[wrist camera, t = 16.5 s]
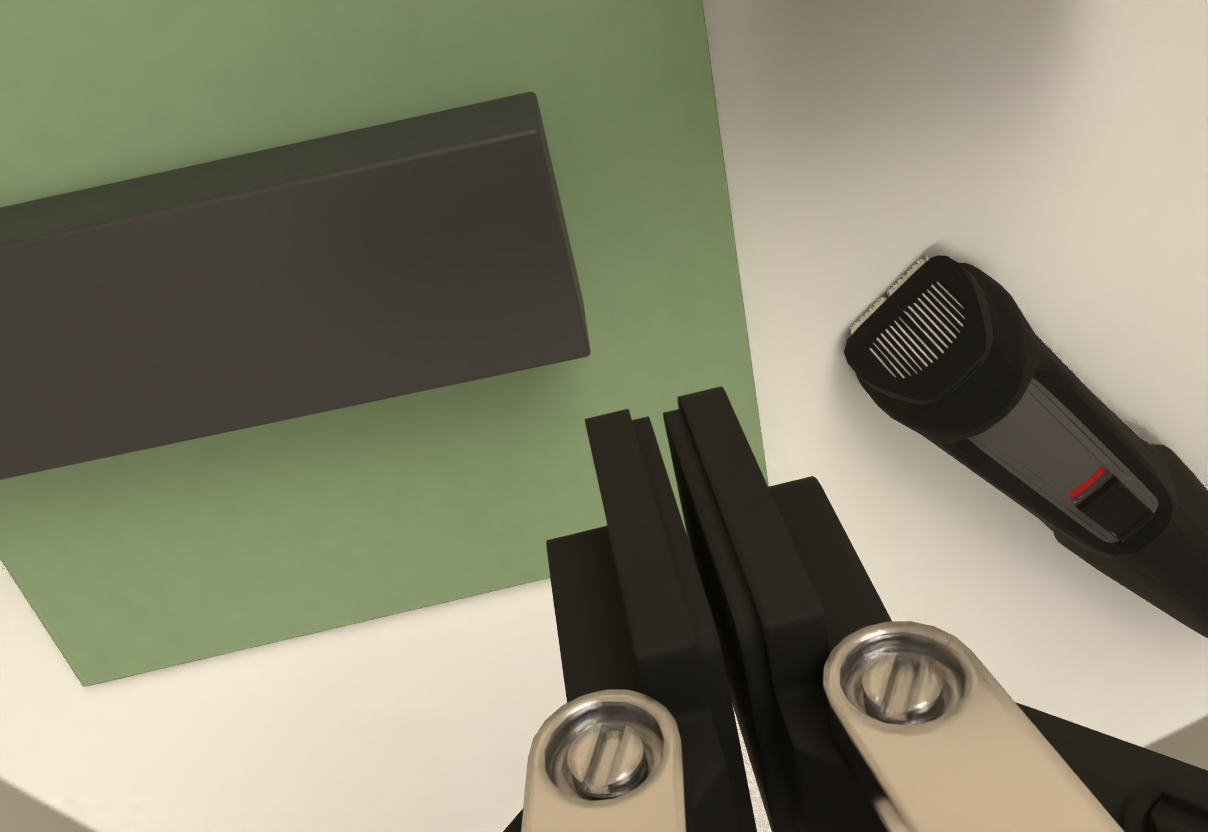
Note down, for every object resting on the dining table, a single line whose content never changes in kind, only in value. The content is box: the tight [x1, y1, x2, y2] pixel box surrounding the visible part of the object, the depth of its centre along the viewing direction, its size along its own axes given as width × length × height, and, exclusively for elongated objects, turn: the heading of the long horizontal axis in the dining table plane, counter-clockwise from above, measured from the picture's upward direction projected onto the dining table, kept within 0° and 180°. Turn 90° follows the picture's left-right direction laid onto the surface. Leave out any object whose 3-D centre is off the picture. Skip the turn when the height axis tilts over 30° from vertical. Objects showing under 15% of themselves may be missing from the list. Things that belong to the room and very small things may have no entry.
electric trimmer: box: [844, 254, 1208, 638], centre depth 27 cm, size 4×16×3 cm, turn 49°
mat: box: [0, 0, 768, 687], centre depth 22 cm, size 20×18×1 cm
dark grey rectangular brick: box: [0, 92, 590, 480], centre depth 21 cm, size 5×3×14 cm
